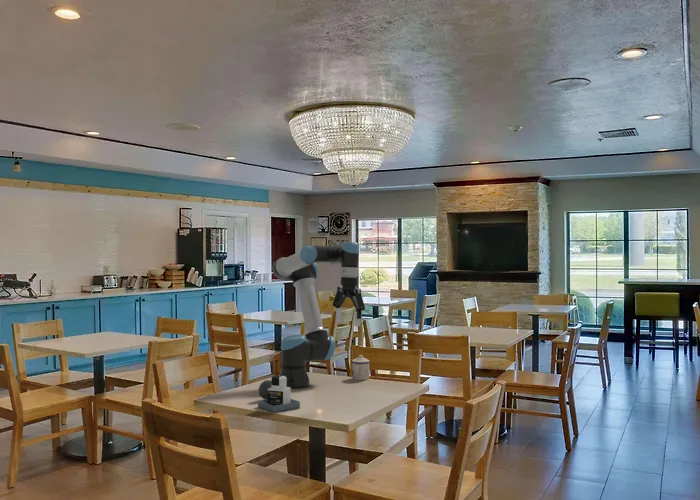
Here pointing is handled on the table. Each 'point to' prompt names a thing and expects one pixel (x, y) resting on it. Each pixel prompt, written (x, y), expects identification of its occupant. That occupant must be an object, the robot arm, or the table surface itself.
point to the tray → (278, 406)
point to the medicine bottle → (279, 391)
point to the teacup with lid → (360, 368)
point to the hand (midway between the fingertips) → (347, 324)
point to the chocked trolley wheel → (265, 388)
